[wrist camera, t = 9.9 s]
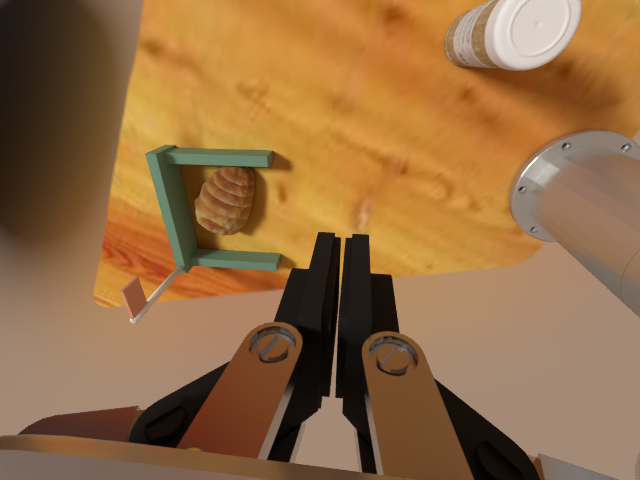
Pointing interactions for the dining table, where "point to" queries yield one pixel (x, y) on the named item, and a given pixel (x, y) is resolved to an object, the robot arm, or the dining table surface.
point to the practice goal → (180, 223)
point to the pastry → (226, 200)
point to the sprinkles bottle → (512, 33)
